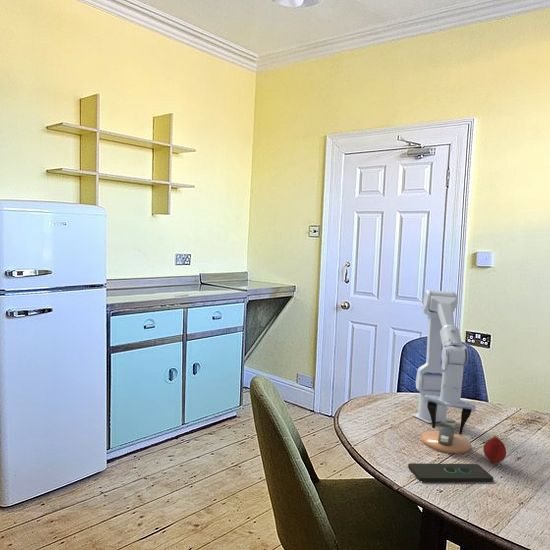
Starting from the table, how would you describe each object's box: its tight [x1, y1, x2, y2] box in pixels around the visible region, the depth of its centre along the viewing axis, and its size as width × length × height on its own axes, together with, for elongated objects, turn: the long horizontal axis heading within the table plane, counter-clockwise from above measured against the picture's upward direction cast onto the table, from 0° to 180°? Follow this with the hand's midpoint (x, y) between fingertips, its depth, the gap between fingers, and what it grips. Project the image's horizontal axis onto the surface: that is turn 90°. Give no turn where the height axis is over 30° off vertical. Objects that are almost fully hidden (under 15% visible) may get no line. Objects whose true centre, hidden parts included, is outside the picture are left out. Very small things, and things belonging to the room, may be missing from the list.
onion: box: [482, 434, 507, 465], centre depth 141 cm, size 6×6×8 cm
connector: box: [438, 417, 457, 446], centre depth 152 cm, size 12×4×5 cm, turn 156°
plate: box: [421, 430, 472, 455], centre depth 153 cm, size 14×14×1 cm
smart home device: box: [407, 462, 494, 483], centre depth 133 cm, size 8×2×20 cm
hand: (447, 430), depth 153 cm, fingers open, 7 cm apart
